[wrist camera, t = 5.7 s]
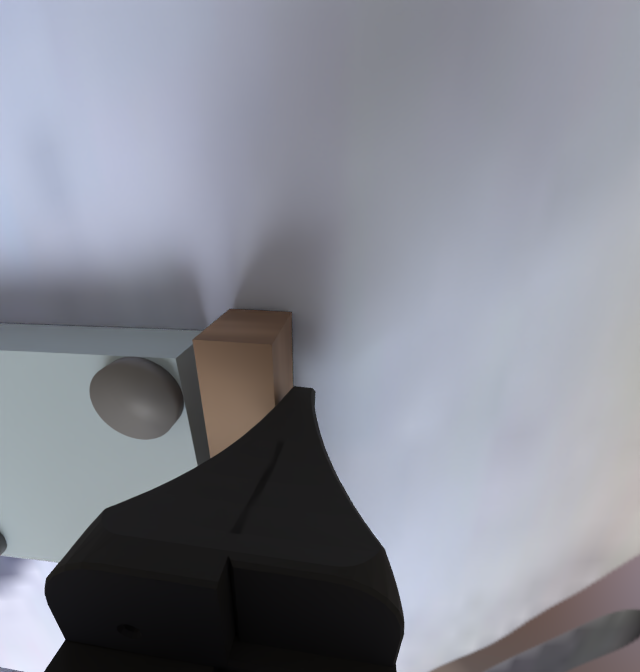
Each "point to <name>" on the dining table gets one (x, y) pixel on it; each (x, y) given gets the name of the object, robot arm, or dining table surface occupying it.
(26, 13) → the dining table surface
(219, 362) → the folding leg
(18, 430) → the grey flat block
